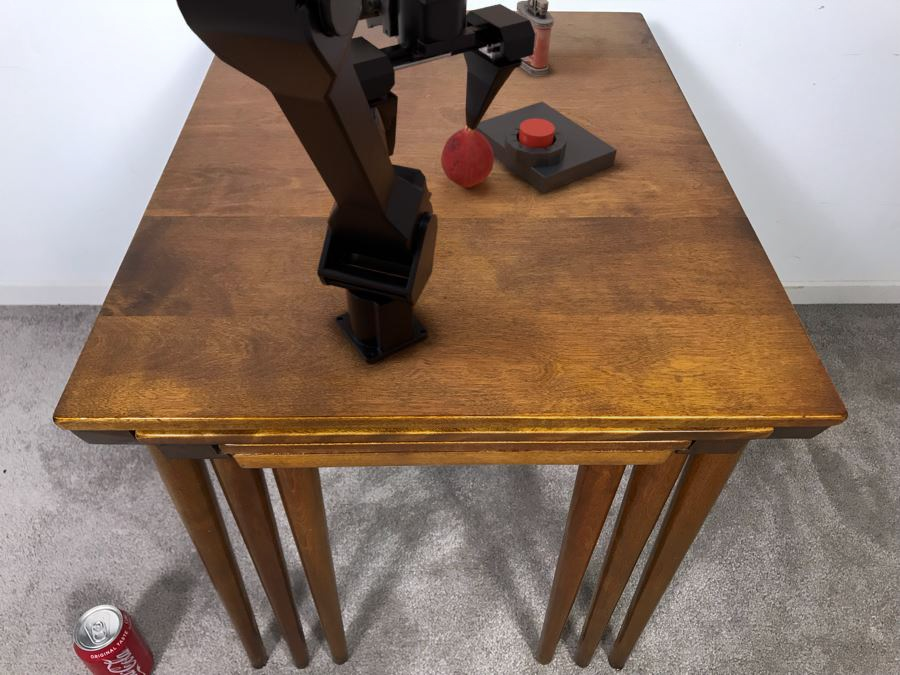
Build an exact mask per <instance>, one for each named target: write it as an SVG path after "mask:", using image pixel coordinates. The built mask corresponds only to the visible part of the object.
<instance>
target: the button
mask: <svg viewBox="0 0 900 675" xmlns="http://www.w3.org/2000/svg"><path fill="white" fill-rule="evenodd" d="M554 132H555V127H554V125H553V124H552V123H551V122H549V121H547V120H543V119H528V120H525V121H523V122H522V123H521V124H520V131H519V142H520V143H521V144H523V145H524V146H528V147H532V148H545V147H548V146H551V145H552V144H553V139H554Z"/></svg>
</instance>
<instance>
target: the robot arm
mask: <svg viewBox="0 0 900 675" xmlns="http://www.w3.org/2000/svg"><path fill="white" fill-rule="evenodd" d="M175 2H176V5H177V8H178V10H179V12H180V14H181V16H182V18H183V20H184V21H185V22H184V23H185V24H186V25H187V27H188V28H189V30H191V32H193V34H194V35H195V36H196V37H197V38H198V39H199V40H200V42H202V43H203V44H204V45H205V46H206V47H207V48H208V49H209V50H210V51H211V52H212V53H213V54H214V55H215V57H217V58H218V59H219V60H220V62H223V63H225V64H226V65H228V66H229V67H231V68H233V69H234V70H236V71H238V72H240V74H241V73H242V74H243V75H245V76H246V77H248V78H250V79H251V80H253V81H254V82H256V83H258V84H259V85H261V86H263V87H264V88H266V89H267V90H268V91H269V92H270V93H271V95H272V97H273V98H274V100H275V101H276V103H277V105H278V107H279V108H280V110H281V112H282V113H283V115H284V117H285V118H286V120H287V122H288V123H289V125H290V126H291V128H292V130H293V132H294V134H295V135H296V137H297V138H298V140H299V142H300V143H301V145H302V147H303V149H304V150H305V152H306V153H307V154H306V155H308V157H309V159H310V161H311V162H312V164H313V165H314V167H315V169H316V171H317V172H318V174H319V176H320V178H321V180H322V181H323V182H324V184H325V185H326V187H327V189H328V191H329V193H330V194H331V196H332V197H333V200H334V202H333V205H332V207H331V210H330V211H329V215H328V219H327V221H326V222H327V227H326V231H325V237H324V241H323V245H322V249H321V253H320V258H319V262H318V266H317V270H316V274H317V276H318V278H319V281H320V282H321V284H322V286H327V287H329V286H332V287H336V288H340V289H344V290H345V296H346V305H347V311H346V312H344V313H341V314H339V315H337V316H335V318H334V323H335V325H336V326H337V328H338V329H339V330H340V332H341V333H342V334H343V335H344V336H345V338H346V339H347V340H348V342H349V343H350V344H351V345H352V347H353V348H354V349H355V351H356V352H357V353H358V354H359V355H360V357H361V358H362V359H363V360H364V362H366V364H372V363H375V362H378V361H379V360H381V359H383V358H386V357H388V356H390V355H392V354H394V353H397V352H399V351H401V350H403V349H406V348H408V347H410V346H412V345H414V344H416V343H419V342H420V341H423V340H425V339H427V338H428V337H429V330H428V329H427V328H426V326H425V325H424V324H423V323H422V322H421V321H420V320H419V319H418V317H416V316H415V314H414V307H415V306H416V305H417V302H418V301H419V299H420V297H421V295H422V293H423V291H424V290H425V288H426V286H427V284H428V282H429V280H430V279H431V276H432V273H433V267H434V260H435V250H436V243H437V236H438V227H439V226H438V225H439V224H438V223H439V220H438V219H439V218H438V216H437V214H436V213H434V209H433V204H432V202H431V201H430V200H431V198H432V195H433V193H432V192H431V191H430V190H429V188H428V184H427V178H426V176H425V174H424V173H423V171H421V169H420V168H414V167H410V166H404V165H399V164H394V163H392V160H391V158H390V157H392V156H394V151H395V148H396V147H395V146H396V139H397V138H396V137H397V122H398V105H399V104H398V103H399V96H398V95H397V94H396V93H394V92H393V91H392V89H393V88H394V86H395V85H396V72H397V71H400V70H404V69H407V68H413V67H415V66H419V65H423V64H427V63H432V62H435V61H439V60H442V59H446V58H450V57H454V56H457V55H463V58H464V61H465V64H466V84H465V86H466V88H465V92H466V93H465V108H464V109H465V113H464V114H465V126H466V125H467V127H468V128H470V129H471V130H474V129H476V128H477V126H478V124H479V123H480V122H481V121H482V120H483V118H484V116H485V114H486V113H487V112H488V110H489V108H490V106H491V104H492V103H493V101H494V99H495V98H496V96H497V95H498V93H499V91H500V90H501V89H502V87H503V86H504V85H505V83H506V82H507V80H508V79H509V77H510V76H511V75H512V74H513V73H514V71H515V69H517V68H520V67H521V65H522V59H521V58H524V57H527V56H531V55H533V53H534V46H535V37H536V32H535V30H534V27H533V25H532V23H531V21H530V20H529V19H527V18H525V17H523V16H521V15H520V14H518V12H516V11H514V10H512V9H510V8H509V7H507V6H505V5H503V4H501V3H497V4H493V5H489V6H484V7H480V8H476V9H471V10H469V11H468V12H467V7H468V0H175ZM364 20H365V21H366V26H367V29H374V27H378V26H382V33H383V34H384V35H386V36H387V37H388V38H393V37H395V38H396V39H397V43H396V44H393V45H389V46H384V47H381V48H379V47H377V46H376V45H374V44H373V43H372V42H371V41H369V40H368V39H366V38H365V37H364V36H363V35H360V36H357V37H356V36H355V37H354V34H355V31H356V29H357V26H358V23H359V22H360V21H364Z"/></svg>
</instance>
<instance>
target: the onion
mask: <svg viewBox="0 0 900 675" xmlns="http://www.w3.org/2000/svg"><path fill="white" fill-rule="evenodd" d="M494 160H495V156H494V155H493V150H492V147H491V145H490V144H489V142H488V140H487V139H486V138H485V137H484V136H483V135H482V134H481V133H479V132H477V131H476V129H474V130H471V129H470V128H468V127H467V125H466V124H465V126H464V127H463V128H462V129H459V130H457V131H456V132H454V133H453V134H452V135H451V136H450V137H449V138H447V140H446V142H445V144H444V147H443V149H442V152H441V156H440V163H441V164H440V165H441V167H442V170H443V172H444V174H445V176H446V178H447V179H449V180H450V181H451V182H452V183H454V184H456V185H458V186H459V187H462V188H465V189H470V188H472V187H474V186H475V185H478V184H480V183H481V182H483V181H485V180H486V179H487V178H488V177H489V175H490V174H491V172H492V171H493V167H494Z"/></svg>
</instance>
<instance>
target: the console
mask: <svg viewBox="0 0 900 675" xmlns="http://www.w3.org/2000/svg"><path fill="white" fill-rule="evenodd" d="M528 119H543V120H547V121H549V122H551V123H552V124H553V125H554V127H555V132H554V139H553V144H552V145H551V146H548V147H545V148H532V147H528V146H524V145H523V144H521V143H520V142H519V131H520V124H521V123H522V122H523V121H525V120H528ZM476 131H477V132H479V133H481V134H482V135H483V136H484V137H485V138H486V139H487V140H488V142H489V144H490V145H491V147H492V150H493V155H494V158H496V159H497V160H498V161H499V162H501V163H502V164H504V165H505V166H506V167H507V168H509V169H510V170H511V171H513V172H514V173H515V174H517V175H518V176H519V177H520V178H522V179H523V180H524V181H525V182H527V183H528V184H530V185H531V186H532V187H533V188H535V189H536V190H537V191H539V193H541V194H546V193H548V192H550V191H553V190H556V189H558V188H561V187H563V186H567V185H569V184H571V183H574V182H576V181H579V180H582V179H584V178H587V177H590V176H591V175H594V174H596V173H599V172H602V171H604V170H606V169H609V168H611V167H613V166H614V165H615V160H616V156H617V150H618V149H616V148H614V147H613V146H611V145H610V144H608V143H606V141H604V140H602V139H601V138H599V137H597V136H596V135H595V134H593V133H592V132H591V131H589V130H588V129H586V128H584V127H582V126H581V125H579V124H578V123H577V122H575V121H573V120H572V119H570V118H569V117H567V116H566V115H564V114H563V113H561V112H559V111H558V110H557V109H555V108H554V107H552V106H550V105H549V104H547V103H546V102H545V101H539V102H535V103H533V104H530V105H526V106H524V107H520V108H518V109H515V110H511V111H508V112H506V113H501V114H500V115H496V116H494V117H493V116H492V117H490V118H487V119H484V120H481V121H480V123H479V124H478V126H477V128H476Z"/></svg>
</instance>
